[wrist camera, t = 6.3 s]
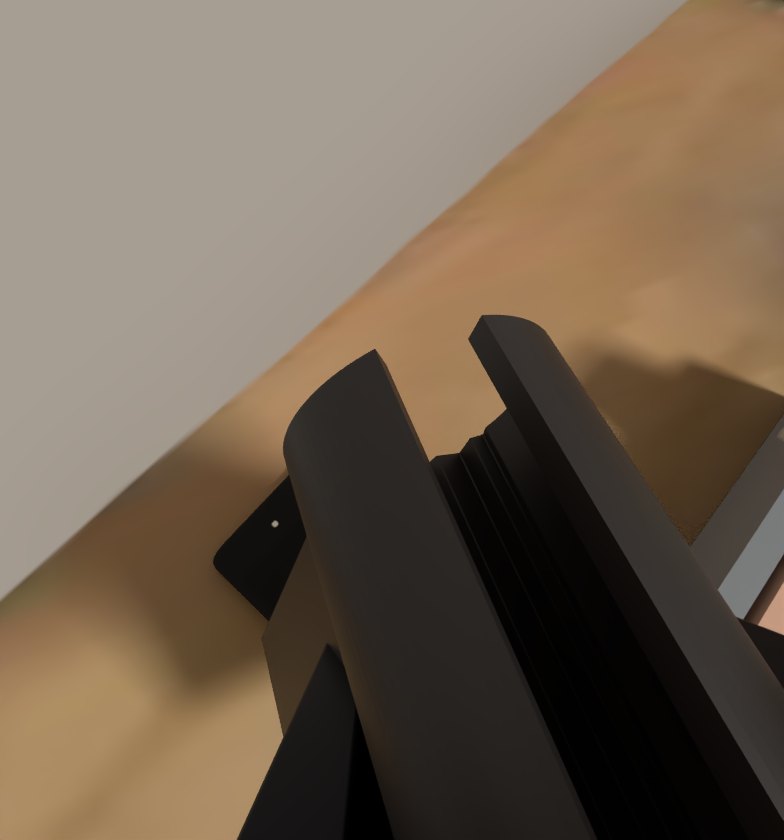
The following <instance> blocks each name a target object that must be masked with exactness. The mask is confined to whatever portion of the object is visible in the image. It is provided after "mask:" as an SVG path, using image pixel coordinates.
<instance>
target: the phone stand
mask: <svg viewBox="0 0 784 840" xmlns="http://www.w3.org/2000/svg"><path fill="white" fill-rule="evenodd" d="M468 340H469V342H470V343H471V345H472V347H473V349H474V351H475V352H476V354H477V356H478V358H479V359H480V361H481V363H482V365H483V367H484V368H485V370H486V372H487V374H488V375H489V377H490V379H491V381H492V383H493V384H494V386H495V388H496V390H497V392H498V393H499V395H500V397H501V399H502V400H503V402H504V404H505V406H506V408H507V409H506V410H505V411H504V412H503V413H502V414H501V415H500V416H499V417H498V418H497V419H496V420H494V421H493V422H492V423H491V424H489V425H488V426H487V427H486V428H485V430H484V433H483V434H482V435H480V436H476V437H473V438H470V439H469V440H468V442H467V443H466V445H465V446H464V447H463V449H462V450H461V452H460V453H456V454H448V455H440V456H436V457H435V458H434V459H432V460H431V461H430V462H429V460H428V458H427V455H426V453H425V451H424V449H423V446H422V444H421V442H420V440H419V437H418V435H417V433H416V431H415V428H414V426H413V424H412V422H411V419H410V417H409V415H408V413H407V410H406V408H405V406H404V404H403V401H402V399H401V397H400V395H399V392H398V390H397V388H396V386H395V383H394V381H393V379H392V377H391V374H390V372H389V370H388V368H387V365H386V364H385V362H384V361H383V360H382V358H381V357H380V355H379V354H378V352H377V351H376V349H374V350H372V351H370V352H368V353H367V354H365V355H363V356H362V357H360V358H358V359H357V360H355V361H353V362H352V363H350V364H349V365H347V366H346V367H344V368H343V369H342V370H340V371H339V372H338V373H336V374H335V375H334V376H332V377H331V378H330V379H329V380H327V381H326V382H325V383H324V384H323V385H322V386H320V387H319V388H318V389H317V390H316V391H315V392H314V393H313V394H312V395H311V396H310V397H309V398H308V399H307V401H306V402H305V403H304V404H303V405H302V406H301V408H300V409H299V410H298V412H297V413H296V415H295V416H294V418H293V419H292V421H291V423H290V425H289V427H288V429H287V432H286V435H285V438H284V443H283V454H284V458H285V462H286V465H287V469H288V472H289V476H290V479H291V483H292V486H293V490H294V493H295V497H296V500H297V504H298V507H299V510H300V514H301V517H302V521H303V524H304V528H305V531H306V535H307V537H306V539H305V541H304V544H303V546H302V548H301V551H300V553H299V555H298V557H297V560H296V562H295V564H294V566H293V569H292V571H291V573H290V575H289V578H288V580H287V582H286V584H285V587H284V589H283V591H282V593H281V596H280V598H279V600H278V602H277V605H276V607H275V609H274V612H273V614H272V616H271V618H270V621H269V623H268V625H267V627H266V630H265V632H264V634H263V636H262V642H263V646H264V651H265V655H266V660H267V664H268V669H269V674H270V678H271V683H272V687H273V692H274V696H275V701H276V705H277V710H278V714H279V719H280V724H281V728H282V733H283V737H284V735H285V733H286V731H287V728H288V726H289V724H290V722H291V720H292V717H293V715H294V713H295V711H296V709H297V706H298V704H299V702H300V700H301V698H302V695H303V693H304V691H305V689H306V687H307V685H308V682H309V680H310V678H311V676H312V674H313V671H314V669H315V667H316V665H317V663H318V660H319V658H320V656H321V654H322V652H323V649H324V647H325V645H326V643H327V644H328V645H329V646H330V647H331V649H332V650H333V651H334V653H335V654H336V655H337V657H338V658H339V659H340V661H341V662H342V663H343V665H344V667H345V670H346V674H347V677H348V680H349V684H350V687H351V691H352V694H353V698H354V701H355V705H356V708H357V712H358V715H359V719H360V722H361V726H362V729H363V733H364V736H365V739H366V743H367V746H368V750H369V753H370V757H371V760H372V764H373V767H374V771H375V774H376V778H377V781H378V785H379V788H380V791H381V795H382V798H383V802H384V805H385V809H386V812H387V816H388V819H389V824H390V829H391V834H392V839H393V840H784V688H783V687H782V685H781V684H780V682H779V681H778V679H777V678H776V676H775V675H774V673H773V672H772V670H771V669H770V667H769V666H768V664H767V663H766V661H765V660H764V658H763V657H762V655H761V654H760V652H759V651H758V649H757V648H756V646H755V645H754V643H753V642H752V640H751V639H750V637H749V636H748V634H747V633H746V631H745V630H744V628H743V627H742V625H741V624H740V622H739V621H738V619H737V618H736V616H735V615H734V613H733V612H732V610H731V609H730V607H729V606H728V604H727V603H726V601H725V600H724V598H723V597H722V595H721V594H720V592H719V591H718V589H717V588H716V586H715V585H714V583H713V582H712V580H711V579H710V577H709V576H708V574H707V573H706V571H705V570H704V568H703V567H702V565H701V564H700V562H699V561H698V559H697V558H696V556H695V555H694V553H693V552H692V550H691V549H690V547H689V546H688V544H687V543H686V541H685V540H684V538H683V537H682V535H681V534H680V532H679V531H678V529H677V528H676V526H675V525H674V523H673V522H672V520H671V519H670V517H669V516H668V514H667V513H666V511H665V510H664V508H663V507H662V505H661V504H660V502H659V501H658V499H657V498H656V496H655V495H654V493H653V492H652V490H651V489H650V487H649V486H648V484H647V483H646V481H645V480H644V478H643V477H642V475H641V474H640V472H639V471H638V469H637V468H636V466H635V465H634V463H633V462H632V460H631V459H630V457H629V456H628V454H627V453H626V451H625V450H624V448H623V447H622V445H621V444H620V442H619V441H618V439H617V438H616V436H615V435H614V433H613V432H612V430H611V429H610V427H609V426H608V424H607V423H606V421H605V420H604V418H603V417H602V415H601V414H600V412H599V411H598V409H597V407H596V406H595V404H594V403H593V401H592V400H591V398H590V397H589V395H588V394H587V392H586V391H585V389H584V388H583V386H582V385H581V383H580V382H579V380H578V379H577V377H576V376H575V374H574V373H573V371H572V370H571V368H570V367H569V365H568V364H567V362H566V361H565V359H564V358H563V356H562V355H561V353H560V352H559V350H558V349H557V347H556V346H555V344H554V343H553V341H552V340H551V338H550V337H549V335H548V334H547V333H546V332H545V330H544V329H543V328H541V327H540V326H539V325H537V324H535V323H533V322H531V321H529V320H526V319H523V318H519V317H514V316H507V315H482V316H481V318H480V319H479V321H478V323H477V325H476V326H475V328H474V330H473V332H472V333H471V335H470V337H469V338H468Z"/></svg>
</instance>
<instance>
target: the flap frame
mask: <svg viewBox="0 0 784 840" xmlns="http://www.w3.org/2000/svg"><path fill="white" fill-rule="evenodd" d="M690 549H691V550H692V552H693V553H694V555H695V556H696V558H697V559H698V561H699V562H700V564H701V565H702V567H703V568H704V570H705V571H706V573H707V574H708V576H709V577H710V579H711V580H712V582H713V583H714V585H715V586H716V588H717V589H718V591H719V592H720V594H721V595H722V597H723V598H724V600H725V601H726V603H727V604H728V606H729V607H730V609H731V610H732V612H733V613H734V615H735V616H736V617H738V618H741V619H744V617H745V616H746V614H747V613H748V611H749V609H750V608H751V606H752V604H753V603H754V601H755V600H756V598H757V596H758V595H759V593H760V592H761V590H762V588H763V587H764V585H765V583H766V582H767V580H768V579H769V577H770V575H771V574H772V572H773V571H774V569H775V567H776V566H777V564H778V562H779V561H780V559H781V558H782V556H783V554H784V414H783V416H782V417H781V419H780V420H779V422H778V423H777V424H776V426H775V427H774V429H773V430H772V431H771V433H770V434H769V436H768V437H767V439H766V440H765V441H764V443H763V444H762V446H761V447H760V449H759V450H758V451H757V453H756V454H755V456H754V457H753V458H752V460H751V461H750V463H749V464H748V466H747V467H746V468H745V470H744V471H743V473H742V474H741V476H740V477H739V478H738V480H737V481H736V483H735V484H734V485H733V487H732V488H731V490H730V491H729V493H728V494H727V495H726V497H725V498H724V500H723V501H722V503H721V504H720V505H719V507H718V508H717V510H716V511H715V512H714V514H713V515H712V517H711V518H710V520H709V521H708V522H707V524H706V525H705V527H704V528H703V530H702V531H701V532H700V534H699V535H698V537H697V538H696V539H695V541H694V542H693V544H692V545H691V547H690Z"/></svg>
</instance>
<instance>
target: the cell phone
mask: <svg viewBox="0 0 784 840" xmlns="http://www.w3.org/2000/svg"><path fill="white" fill-rule="evenodd" d="M306 537H307V535H306V531H305V528H304V524H303V521H302V517H301V514H300V510H299V507H298V504H297V500H296V497H295V493H294V490H293V486H292V483H291V479H290V476H288V477H287V478H286V479H285V480H284V481H283V482H282V483H281V484H280V485H279V486H278V487H277V488H276V489H275V490H274V491H273V492H272V494H271V495H270V496H269V497H268V498H267V499H266V500H265V501H264V502H263V503H262V504H261V505H260V506H259V507H258V508H257V509H256V510H255V511H254V512H253V513H252V515H251V516H250V517H249V518H248V519H247V520H246V521H245V522H244V523H243V524H242V525H241V526H240V527H239V528H238V529H237V530H236V531H235V532H234V533H233V534H232V535H231V537H230V538H229V539H228V540H227V541H226V542H225V543H224V544H223V545H222V546H221V548H220V549H219V550H218V551H217V553H216V555H215V557H214V560H213V564H214V566H215V568H216V569H217V570H218V571H219V572H220V573H221V574H222V575H223V576H224V577H225V578H226V579H227V580H228V581H229V582H230V583H231V584H232V585H233V586H234V587H235V588H236V589H237V590H238V591H239V592H240V593H241V594H242V595H243V596H244V597H245V598H246V599H247V600H248V601H249V602H250V603H251V604H252V605H253V606H254V607H255V608H256V609H257V610H258V611H259V612H260V613H261V614H262V615H263V616H264V617H265V618H266V619H267V620H268V621H270V618H271V616H272V614H273V612H274V609H275V607H276V605H277V602H278V600H279V598H280V596H281V593H282V591H283V589H284V587H285V584H286V582H287V580H288V578H289V575H290V573H291V571H292V569H293V566H294V564H295V562H296V560H297V557H298V555H299V553H300V551H301V548H302V546H303V544H304V541H305V539H306Z"/></svg>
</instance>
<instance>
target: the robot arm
mask: <svg viewBox="0 0 784 840" xmlns="http://www.w3.org/2000/svg"><path fill="white" fill-rule="evenodd" d="M736 618H737V619H738V621H739V622H740V624H741V625H742V627H743V628H744V630H745V631H746V633H747V634H748V636H749V637H750V639H751V640H752V642H753V643H754V645H755V646H756V648H757V649H758V651H759V652H760V654H761V655H762V657H763V658H764V660H765V661H766V663H767V664H768V666H769V667H770V669H771V670H772V672H773V673H774V675H775V676H776V678H777V679H778V681H779V682H780V684H781V685H782V687H783V688H784V635H783V634H780V633H778V632H775V631H772V630H770V629H767V628H764V627H762V626H759V625H757V624H754V623H751V622H749V621H746V620H743V619H741V618H738V617H736ZM237 840H393V839H392V834H391V829H390V824H389V819H388V816H387V812H386V809H385V805H384V802H383V798H382V795H381V791H380V788H379V785H378V781H377V778H376V774H375V771H374V767H373V764H372V760H371V757H370V753H369V750H368V746H367V743H366V739H365V736H364V733H363V729H362V726H361V722H360V719H359V715H358V712H357V708H356V705H355V701H354V698H353V694H352V691H351V687H350V684H349V680H348V677H347V674H346V670H345V667H344V665H343V663H342V662H341V661H340V659H339V658H338V657H337V655H336V654H335V653H334V651H333V650H332V649H331V647H330V646H329V645H328V644H327V643H326V645H325V647H324V649H323V652H322V654H321V656H320V658H319V660H318V663H317V665H316V667H315V669H314V671H313V674H312V676H311V678H310V680H309V682H308V685H307V687H306V689H305V691H304V693H303V695H302V698H301V700H300V702H299V704H298V706H297V709H296V711H295V713H294V715H293V717H292V720H291V722H290V724H289V726H288V728H287V731H286V733H285V735H284V737H283V739H282V742H281V744H280V746H279V748H278V750H277V753H276V755H275V757H274V759H273V761H272V764H271V766H270V768H269V770H268V772H267V774H266V777H265V779H264V781H263V783H262V785H261V788H260V790H259V792H258V794H257V796H256V799H255V801H254V803H253V805H252V807H251V810H250V812H249V814H248V816H247V818H246V821H245V823H244V825H243V827H242V829H241V832H240V834H239V836H238V838H237Z"/></svg>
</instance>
